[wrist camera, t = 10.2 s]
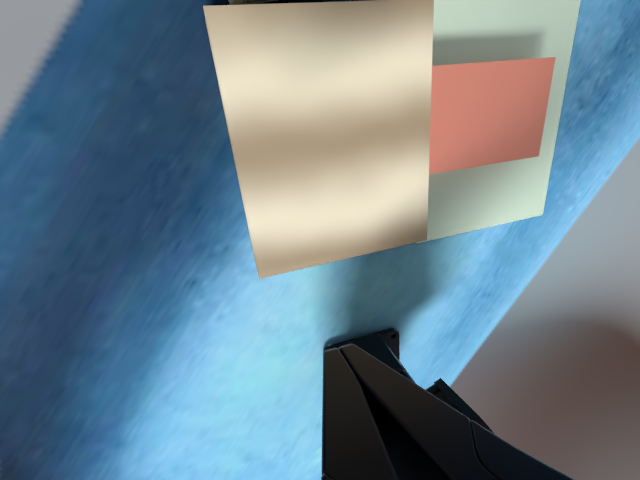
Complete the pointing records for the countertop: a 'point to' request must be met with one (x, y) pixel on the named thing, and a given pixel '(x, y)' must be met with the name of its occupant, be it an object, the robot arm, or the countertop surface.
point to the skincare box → (247, 1)
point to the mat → (487, 46)
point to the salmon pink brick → (488, 112)
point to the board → (327, 124)
